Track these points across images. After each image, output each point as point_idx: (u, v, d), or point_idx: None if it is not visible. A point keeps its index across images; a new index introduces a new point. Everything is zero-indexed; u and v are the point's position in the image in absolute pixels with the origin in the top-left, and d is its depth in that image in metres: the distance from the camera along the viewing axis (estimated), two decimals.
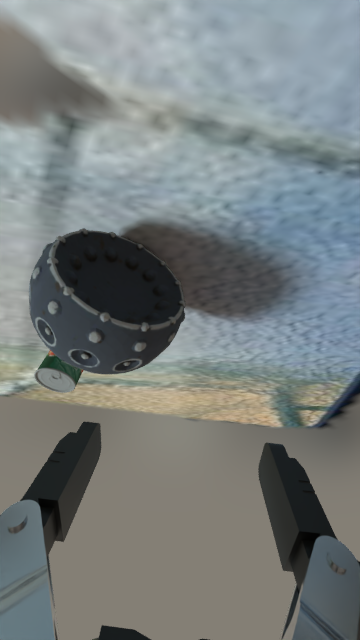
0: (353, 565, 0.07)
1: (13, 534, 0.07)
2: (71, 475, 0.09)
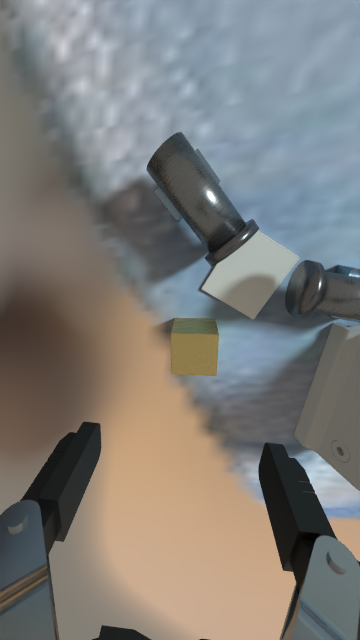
0: (353, 565, 0.07)
1: (13, 534, 0.07)
2: (71, 475, 0.09)
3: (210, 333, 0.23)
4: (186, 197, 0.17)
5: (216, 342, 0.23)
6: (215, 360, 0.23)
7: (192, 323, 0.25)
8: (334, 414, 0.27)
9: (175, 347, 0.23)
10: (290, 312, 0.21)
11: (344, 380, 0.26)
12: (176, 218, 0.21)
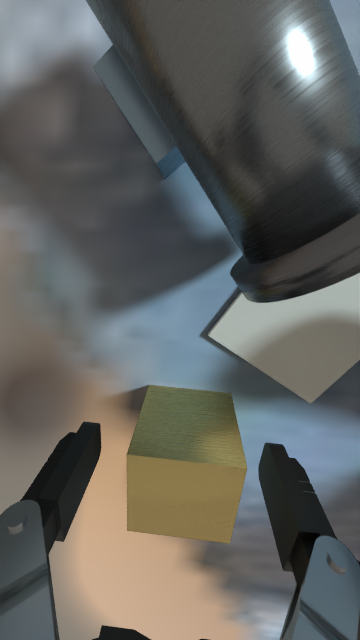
0: (353, 565, 0.07)
1: (13, 534, 0.07)
2: (71, 475, 0.09)
3: (225, 461, 0.09)
4: (189, 5, 0.04)
5: (238, 483, 0.09)
6: (231, 516, 0.10)
7: (183, 409, 0.11)
8: None
9: (137, 483, 0.09)
10: None
11: None
12: (156, 157, 0.08)
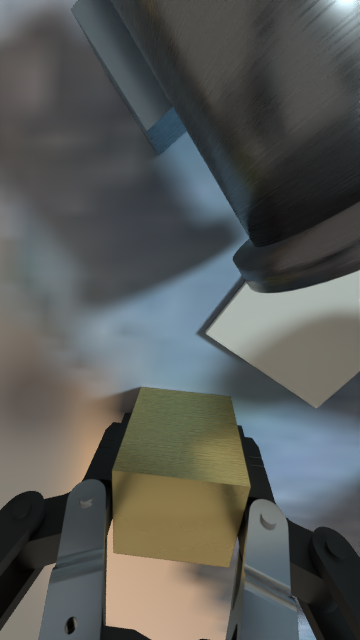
0: (281, 522, 0.08)
1: (86, 508, 0.08)
2: None
3: (225, 478, 0.08)
4: None
5: (240, 503, 0.08)
6: (231, 538, 0.09)
7: (178, 416, 0.10)
8: None
9: (124, 501, 0.08)
10: None
11: None
12: (147, 122, 0.06)
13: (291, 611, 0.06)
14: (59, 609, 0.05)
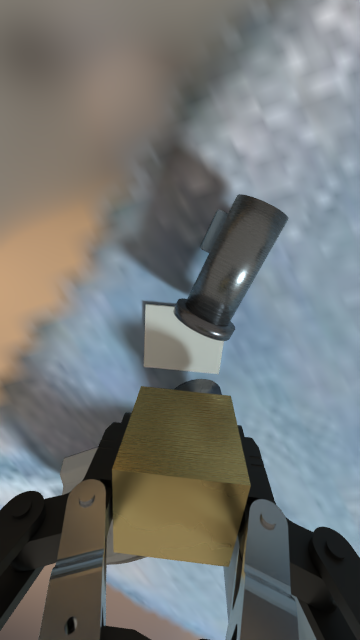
0: (281, 522, 0.08)
1: (86, 508, 0.08)
2: None
3: (226, 477, 0.08)
4: (229, 257, 0.15)
5: (240, 502, 0.08)
6: (231, 538, 0.09)
7: (178, 415, 0.10)
8: None
9: (124, 501, 0.08)
10: None
11: None
12: (202, 247, 0.18)
13: (291, 611, 0.06)
14: (59, 609, 0.05)
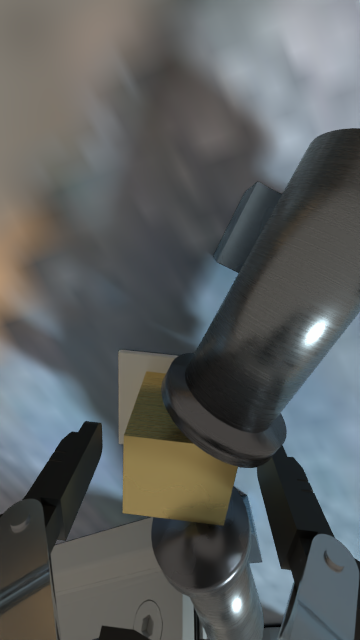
0: (350, 563, 0.07)
1: (16, 532, 0.07)
2: (73, 474, 0.09)
3: None
4: (296, 292, 0.06)
5: None
6: (225, 498, 0.10)
7: None
8: (66, 598, 0.18)
9: (133, 464, 0.10)
10: (154, 526, 0.12)
11: (113, 580, 0.17)
12: (221, 260, 0.09)
13: None
14: None
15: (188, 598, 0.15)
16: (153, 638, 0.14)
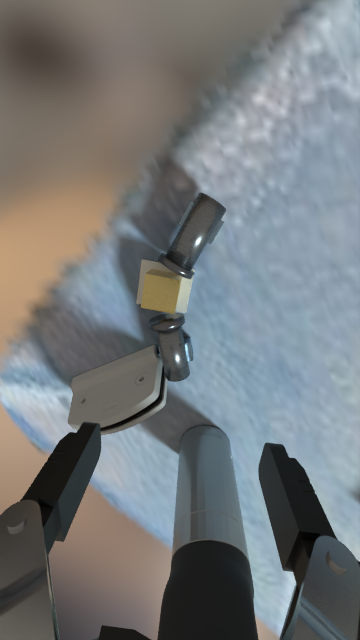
0: (353, 565, 0.07)
1: (13, 534, 0.07)
2: (71, 475, 0.09)
3: (174, 279, 0.30)
4: (191, 227, 0.27)
5: (178, 286, 0.30)
6: (175, 301, 0.31)
7: (163, 273, 0.32)
8: (103, 383, 0.38)
9: (147, 285, 0.30)
10: (150, 321, 0.33)
11: (126, 373, 0.38)
12: (179, 223, 0.30)
13: None
14: None
15: (159, 371, 0.36)
16: (143, 380, 0.35)
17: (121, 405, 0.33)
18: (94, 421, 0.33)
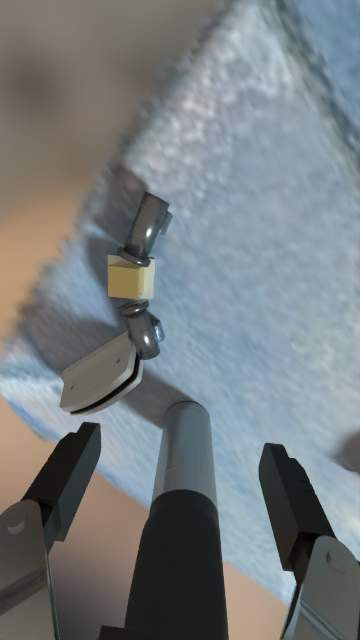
0: (353, 565, 0.07)
1: (13, 534, 0.07)
2: (71, 475, 0.09)
3: (133, 268, 0.34)
4: (139, 221, 0.31)
5: (137, 274, 0.34)
6: (137, 287, 0.35)
7: (126, 264, 0.37)
8: (88, 370, 0.43)
9: (110, 276, 0.35)
10: (118, 308, 0.37)
11: (106, 358, 0.42)
12: (133, 219, 0.34)
13: None
14: None
15: (133, 352, 0.40)
16: (119, 361, 0.39)
17: (101, 385, 0.38)
18: (80, 401, 0.38)
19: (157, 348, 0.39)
